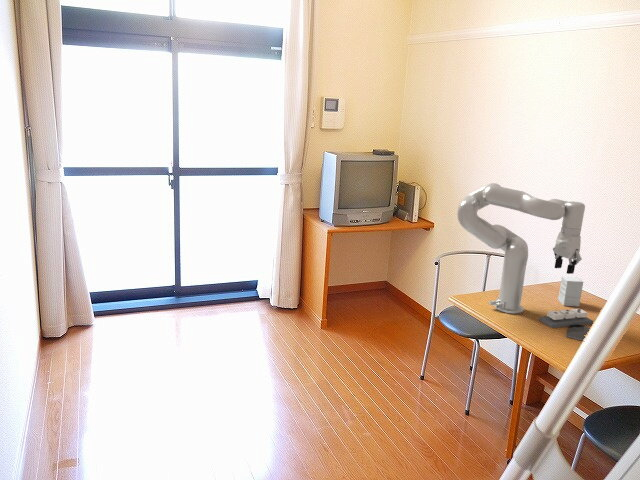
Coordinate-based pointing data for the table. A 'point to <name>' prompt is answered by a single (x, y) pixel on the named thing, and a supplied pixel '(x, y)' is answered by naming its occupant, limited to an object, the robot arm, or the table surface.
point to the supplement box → (570, 291)
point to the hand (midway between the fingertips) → (563, 270)
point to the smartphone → (577, 332)
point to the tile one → (555, 315)
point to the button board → (565, 321)
